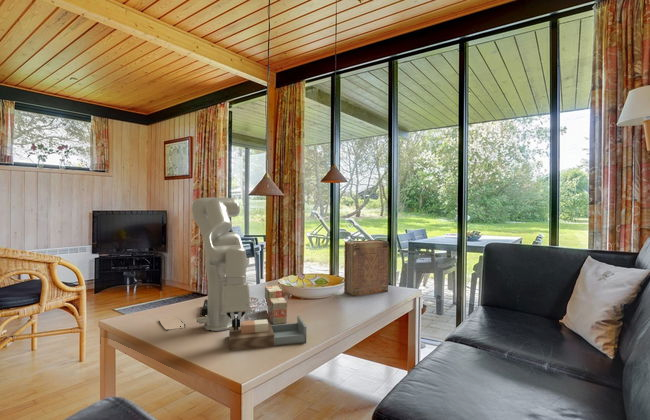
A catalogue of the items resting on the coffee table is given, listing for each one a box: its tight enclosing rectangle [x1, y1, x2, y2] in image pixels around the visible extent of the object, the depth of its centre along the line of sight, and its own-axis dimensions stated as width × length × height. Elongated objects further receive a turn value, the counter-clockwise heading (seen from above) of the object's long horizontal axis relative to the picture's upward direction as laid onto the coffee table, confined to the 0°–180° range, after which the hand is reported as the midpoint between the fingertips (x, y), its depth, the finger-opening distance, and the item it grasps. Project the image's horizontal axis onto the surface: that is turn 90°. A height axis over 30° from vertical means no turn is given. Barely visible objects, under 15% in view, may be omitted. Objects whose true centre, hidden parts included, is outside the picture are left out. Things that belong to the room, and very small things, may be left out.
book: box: [343, 239, 390, 297], centre depth 211 cm, size 25×9×30 cm, turn 119°
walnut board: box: [228, 322, 275, 351], centre depth 136 cm, size 16×14×4 cm
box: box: [271, 315, 307, 347], centre depth 140 cm, size 12×14×6 cm
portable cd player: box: [200, 298, 238, 317], centre depth 175 cm, size 16×17×4 cm
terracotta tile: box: [240, 319, 255, 334], centre depth 136 cm, size 5×5×3 cm
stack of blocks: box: [264, 284, 288, 325], centre depth 166 cm, size 21×6×12 cm, turn 19°
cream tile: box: [254, 319, 269, 332], centre depth 137 cm, size 5×5×3 cm
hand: (236, 329), depth 134 cm, fingers closed
